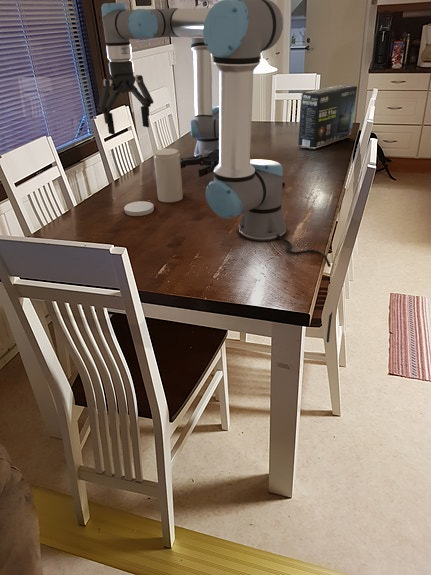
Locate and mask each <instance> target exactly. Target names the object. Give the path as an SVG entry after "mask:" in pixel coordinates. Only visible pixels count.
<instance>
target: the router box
mask: <svg viewBox="0 0 431 575" xmlns="http://www.w3.org/2000/svg"><path fill="white" fill-rule="evenodd" d="M357 93H358V86H356V85H350V84H339V85H338V84H337V85H334V86H328V87H324V88H318V89H314V90H309V91H304V92H301V93H300V109H299V110H300V111H299V124H298V137H297V146H298V145H302V146H307V147H317V146H320V145H323V144H325V143H328V142H331V141H333V140H336V139H338V138H341V137H344V136H347V135H351V136H352V133H353V132H352V131H353V125H354V115H355V109H356V99H357ZM311 151H313V150H312V149H311Z"/></svg>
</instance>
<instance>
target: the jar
mask: <svg viewBox="0 0 431 575" xmlns="http://www.w3.org/2000/svg"><path fill="white" fill-rule="evenodd" d="M180 161H181V154H180V152H179V150H178V149H177V148H161V149H157V150H155V151H154V154H153V165H154V174H155V183H156V184H155V185H156V193H157V200H158V201H160V202H162V203H176V202H179V201H182V200H183V199H184V191H183V190H184V189H183V176H182V175H183V174H182V169H181V162H180Z"/></svg>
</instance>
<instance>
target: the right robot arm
mask: <svg viewBox="0 0 431 575" xmlns="http://www.w3.org/2000/svg"><path fill="white" fill-rule="evenodd" d="M100 8H101V16H102V17H101V21H102V26H103V33H104V40H105V45H106V54H107V60H108V61H109V62H108V69H109V74H110V79H107V78H106V79H105V78H103V79H101V80H102V81H101V83H102V87H101V92H100V97H99V100H98V104H97V108H96V109H97V112H99V113H102V114H103V118H104V123H105V124H106V125H107V130H108V134H110V135H115V134H116V130H115V123H114V117H113V113H112V112H111V110H112V109H113V106H114V104H115V102H116V100H117V99H118V96H120V94H124V93H131V94H132V95H133V96H134V97H135V98H136V100H138V102H139V103H140V104H141V105H142V106H140V112H141V121H142V127H144V128H150V123H149V121H150V120H149V117H150V114H151V113H150V107H151V105H153V104H154V100H153V98H152V96H151V94H150V92H149V90H148V88H147V85H146V84H145V81H144V76H143V75H141V74H136V75H134V72H135V71H134V70H135V68H134V62H133V60H132V59H133V53H132V45H131V40H139V41H143V40H145V41H147V40H151V39H159V38H190V39H192V38H204V42H205V45H206V46H207V49H208V51H209V52H210V53H211V54H212V64H214V66H215V67H216V68H217V69H218V71H219V74H218V75H219V76H218V77H219V79H218V82H219V85H218V86H219V94H218V95H219V96H218V100H219V101H218V102H219V105H218V106H219V164H218V165H217V166H216V167H215V168H214V173H213V180H211V181H210V182H209V183H208V185H207V186H206V188H205V199H206V202H207V204H208V206H209V208H210V209H211V210H212V212H213V213H214V214H215V215H217V217H219V218H221V219H225V220H230V219H233V218H238V217H240V216H241V215H242V216H241V220H240V222H239V223H238V232H239V235H240V236H241V237H242V238H244V239H247V240H250V241H254V242H271V241H277V240H279V239H280V240H282V241H283V242H285V243H286V244H287V245H288V247H287V248H286V251H287V253H289V254H291V255H301V254H306V253H315V254H319V255H321V256H322V257H323V258H324V260H325V263H326V265H327V267H328V268H331V266H332V265H331V263H330V261H329V259H328V256H327V255H326V253H324V252H323V251H320V250H317V249H304V250H299V251H298V250H297V251H295V250H291V248H292V243H291V242H290V241H289V240H287V239H286V238H284V237H285V235H286V234H287V223H286V221H285V216H284V214H283V210H282V200H283V187H282V182H284V180H283V179H284V169H283V165H282V164H281V163H280V162H278V161H274V160H270V159H251V145H252V144H251V143H252V118H253V92H254V71H255V69H256V68H257V67H258V66H259V65H260V63H261V52H265V51H267V50H269V49H271V48H272V47H274V46H275V45H276V44H277V43H278V41H279V40H280V38H281V36H282V34H283V30H284V17H283V13H282V11H281V9H280V8H279V6H278V5H277V4H276V3H275V2H274V1H272V0H220V1H218V2H216V3H214V5H212V6H211V7H200V8H199V7H195V8H194V7H193V8H192V7H191V8H189V7H188V8H183V7H182V8H178V7H170V8H148V9H147V8H137V9H127V4H126V3H125V2H110V3H108V2H106V3H105V2H104V3H103V4H102V5H101V7H100ZM135 83H136V84H137V86H138V88H139V90H140V91H139V90H138V88H137V87H136V86H135ZM111 86H112V89H111ZM110 89H111V90H110ZM332 318H333V311H331V313H330V314H329V315H328V324H327V332H326V343H330V335H331V325H332V320H333V319H332Z"/></svg>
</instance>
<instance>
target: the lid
mask: <svg viewBox="0 0 431 575" xmlns="http://www.w3.org/2000/svg"><path fill="white" fill-rule="evenodd" d="M123 209H124V213H125V215H128V216H131V217H141V216H147V215H149V214H151V213H153V212H154V210H155V207H154V204H153V203H152V202H150V201H145V200H144V201H142V200H140V201H139V200H138V201H133V202H129V203H127V204H125V206H124V207H123Z"/></svg>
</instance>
